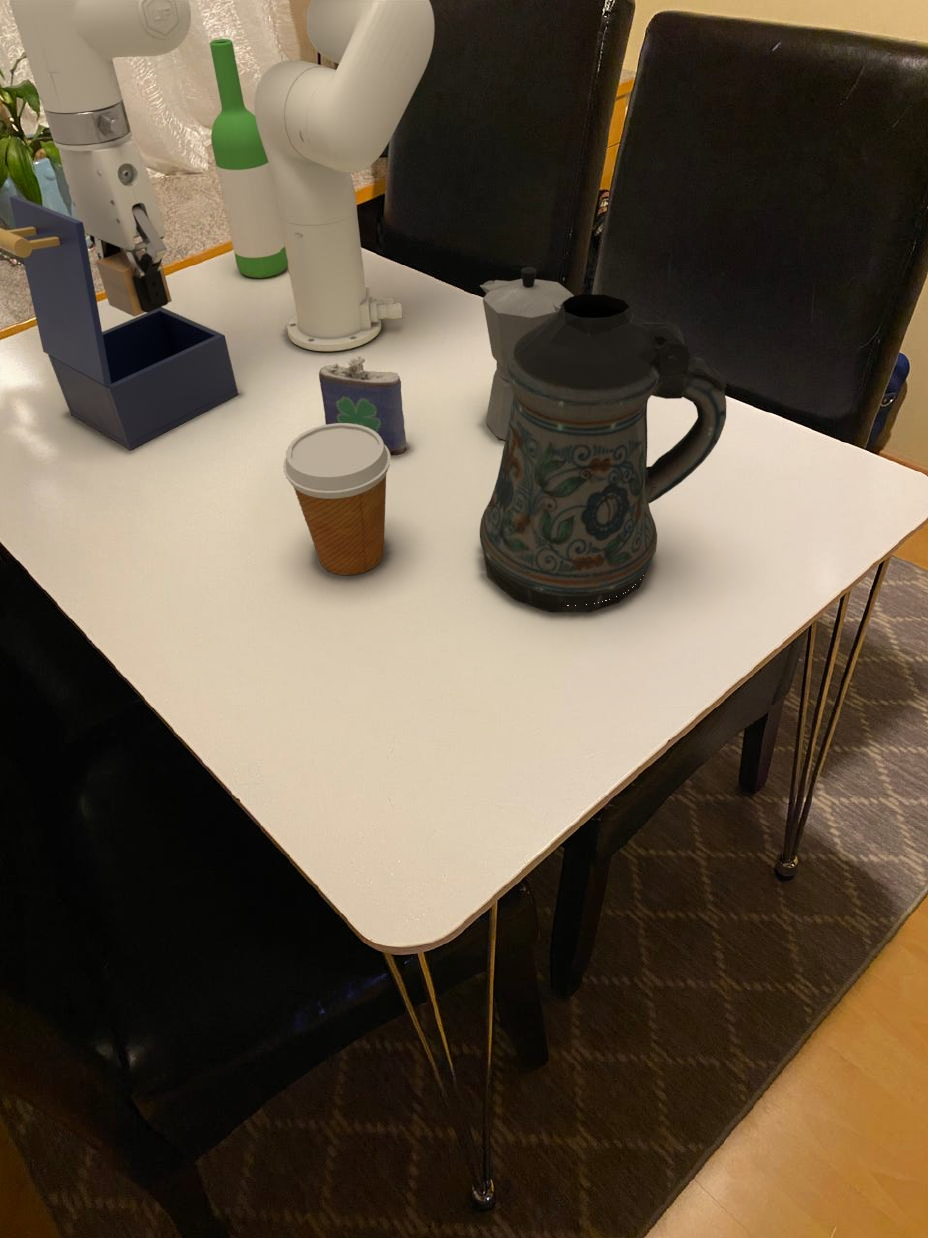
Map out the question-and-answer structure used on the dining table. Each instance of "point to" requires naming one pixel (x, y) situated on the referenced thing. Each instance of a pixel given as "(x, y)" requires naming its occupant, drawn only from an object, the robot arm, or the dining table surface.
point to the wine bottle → (245, 175)
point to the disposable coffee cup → (341, 493)
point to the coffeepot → (514, 330)
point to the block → (123, 282)
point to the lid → (59, 285)
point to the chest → (151, 378)
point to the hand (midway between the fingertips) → (140, 299)
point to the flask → (365, 401)
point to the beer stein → (590, 454)
